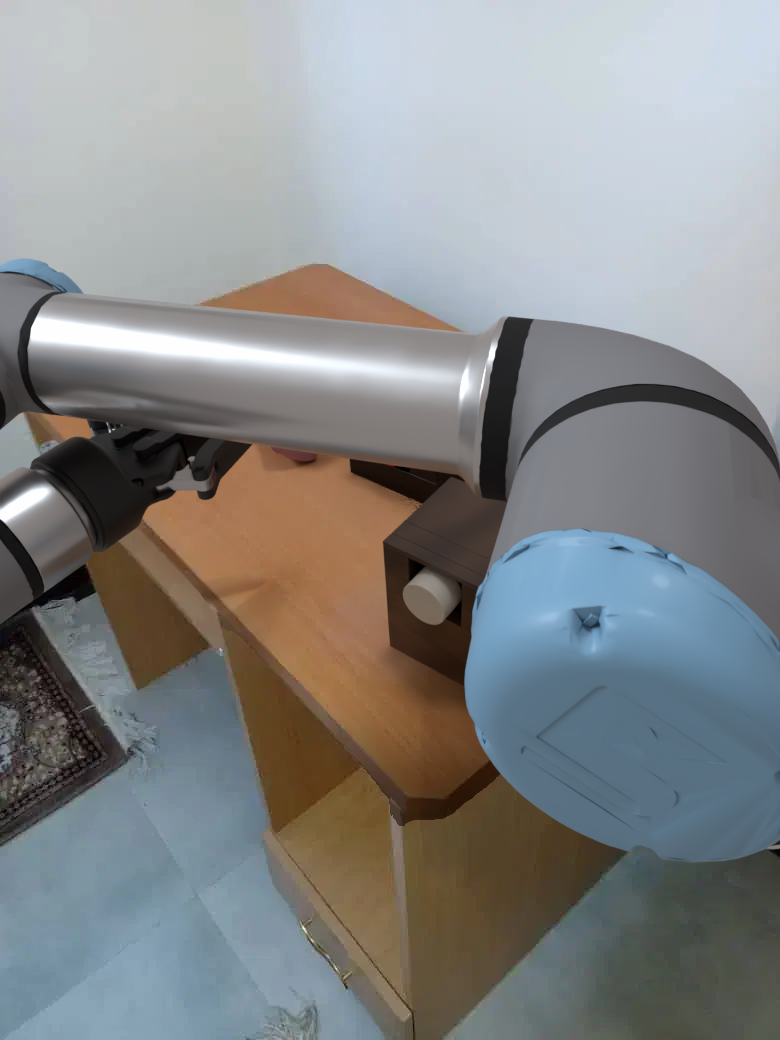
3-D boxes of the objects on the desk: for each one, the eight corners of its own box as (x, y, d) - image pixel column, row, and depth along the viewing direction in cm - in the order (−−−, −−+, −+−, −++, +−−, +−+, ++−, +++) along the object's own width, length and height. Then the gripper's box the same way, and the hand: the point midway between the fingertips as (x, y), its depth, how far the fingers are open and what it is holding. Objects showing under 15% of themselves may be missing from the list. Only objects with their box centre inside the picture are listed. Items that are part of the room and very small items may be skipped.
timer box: (541, 623, 73) (554, 518, 64) (484, 697, 67) (490, 592, 58) (450, 580, 78) (451, 476, 69) (389, 645, 72) (382, 541, 63)
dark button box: (486, 463, 91) (490, 374, 84) (438, 510, 85) (437, 420, 78) (401, 430, 97) (397, 344, 89) (350, 472, 91) (341, 384, 83)
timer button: (462, 612, 64) (463, 577, 61) (444, 632, 62) (444, 598, 60) (421, 592, 66) (420, 557, 63) (403, 611, 64) (401, 576, 61)
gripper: (24, 518, 58) (248, 375, 72) (139, 589, 52) (360, 418, 66) (-16, 434, 53) (233, 298, 67) (107, 502, 47) (353, 337, 61)
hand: (296, 358), depth 66 cm, fingers closed
